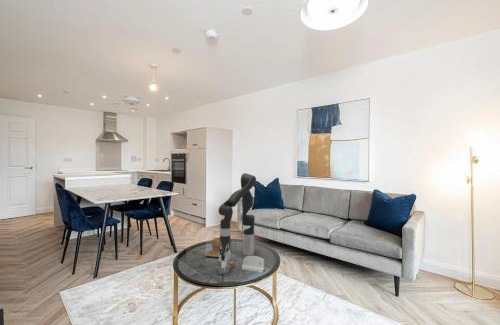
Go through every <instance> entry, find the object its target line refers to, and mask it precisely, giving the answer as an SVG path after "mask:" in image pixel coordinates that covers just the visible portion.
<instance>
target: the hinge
mask: <svg viewBox="0 0 500 325" xmlns="http://www.w3.org/2000/svg"><path fill="white" fill-rule="evenodd" d="M265 262H266V260H265V259H264V258H262V257H260V256H256V255H246V256H244V258H243V263H242V266H241V270H246V271H251V272H257V271H258V273H264V271H265V270H266V267H265V266H266V265H265V264H266V263H265Z"/></svg>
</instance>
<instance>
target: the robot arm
mask: <svg viewBox="0 0 500 325" xmlns="http://www.w3.org/2000/svg"><path fill="white" fill-rule="evenodd" d="M256 183H257V177H256V176H255V175H252V174H250V173H245V172H244V173H242V174H241V176H240V187H241V188H240V189H237V190H236V191H234V192H233V193H232V194H231V195H230V196H229V198H228V199H227V200H226V201H224V202H223V203H222V204H221V205H220V206H218V207H219V208H218V214H219V215H221V216H223V218H222V219H220V221H219V222H220V226H219V238H220V242H222V245H221V246H219V251H220V255H221V260H222V261H224V260H225V252H226V249H231V221H232V217H233V213H234V211H233V208H234V207H236V206H237V204H238V203H239V202H240V200H241V206H242V207H241V208H242V210H241V211H242V212H241V213H242V214H241V224H242V226H244V227H245V226H246V227H247V226H249V227H247V228H245V229H244V230H243V233H242V234H243V239H242V240H243V241H242V245H243V246H242V254H243V255H244V256H254V254H255V220H256V219H255V216H254V214H248V213H249V212H250V210H251V209H252V208H253V205H254V197H253V194H252V192H251V191H250V190H251V189H252V188H253V187H254V186H255V184H256Z"/></svg>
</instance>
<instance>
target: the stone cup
mask: <svg viewBox="0 0 500 325" xmlns="http://www.w3.org/2000/svg"><path fill="white" fill-rule="evenodd" d="M211 244H212V250H211V251H206V252H205V253H204V256H205V257H206V256H207V257H214V258H219V246H221V245H222V242H220V237H213V238H212V241H211Z"/></svg>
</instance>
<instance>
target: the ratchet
mask: <svg viewBox="0 0 500 325" xmlns="http://www.w3.org/2000/svg"><path fill="white" fill-rule="evenodd" d="M235 266H236V262H235V261H234V260H229V261H228V262H221V266H220V267H219V268H218V273H219V275H221V276H227V275H229V274H230V270H232V268H234V267H235Z"/></svg>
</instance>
